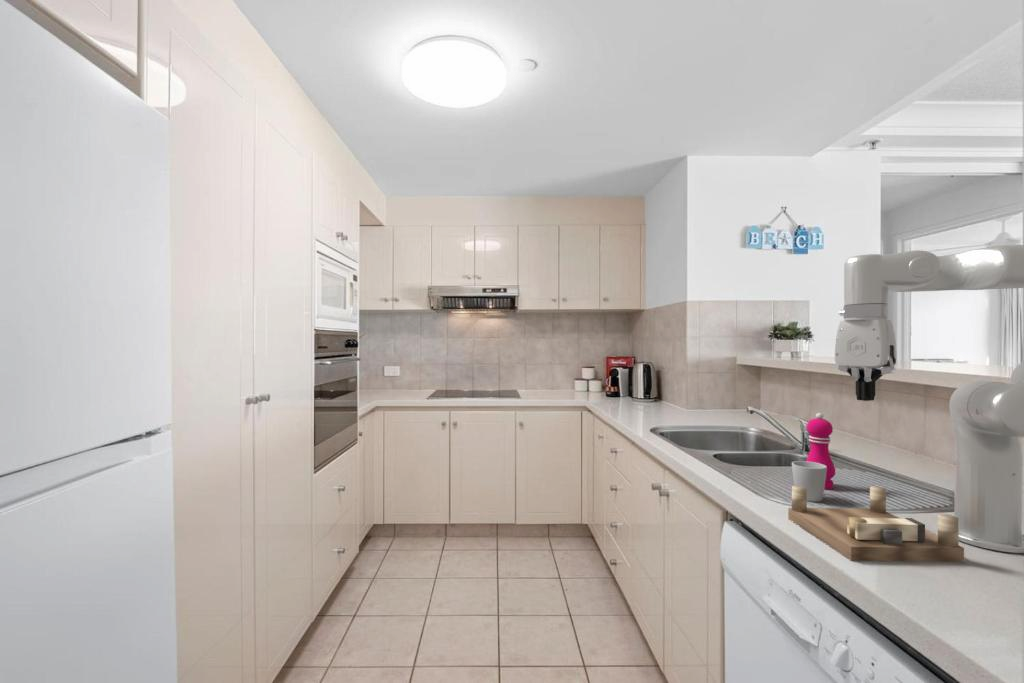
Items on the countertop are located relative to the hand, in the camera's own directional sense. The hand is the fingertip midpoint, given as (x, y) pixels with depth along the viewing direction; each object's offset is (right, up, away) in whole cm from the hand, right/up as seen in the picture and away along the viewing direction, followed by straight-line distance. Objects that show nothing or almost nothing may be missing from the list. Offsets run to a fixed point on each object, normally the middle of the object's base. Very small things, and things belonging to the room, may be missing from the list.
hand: (865, 399), depth 101 cm
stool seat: (-4, -27, -6) cm, 28 cm away
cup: (+1, -27, +20) cm, 34 cm away
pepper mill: (+9, -27, +29) cm, 41 cm away
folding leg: (-5, -24, -12) cm, 28 cm away
